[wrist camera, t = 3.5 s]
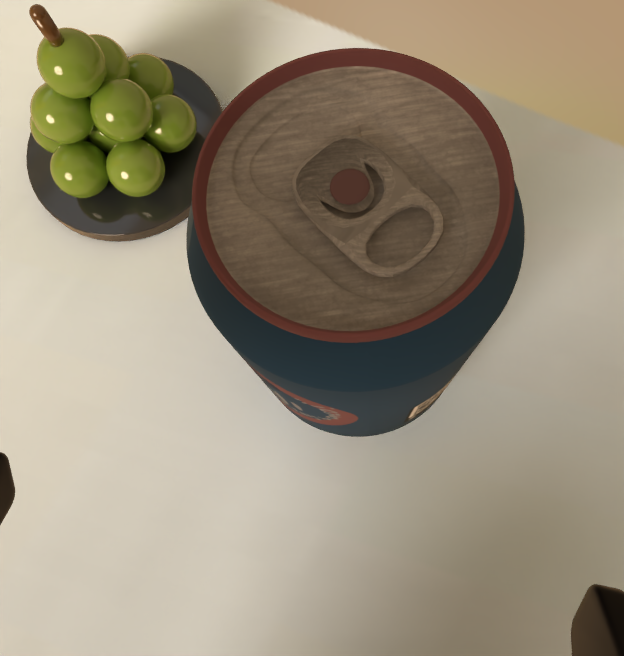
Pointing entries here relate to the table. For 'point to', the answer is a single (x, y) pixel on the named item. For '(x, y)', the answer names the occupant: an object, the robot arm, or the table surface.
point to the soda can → (355, 234)
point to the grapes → (114, 134)
